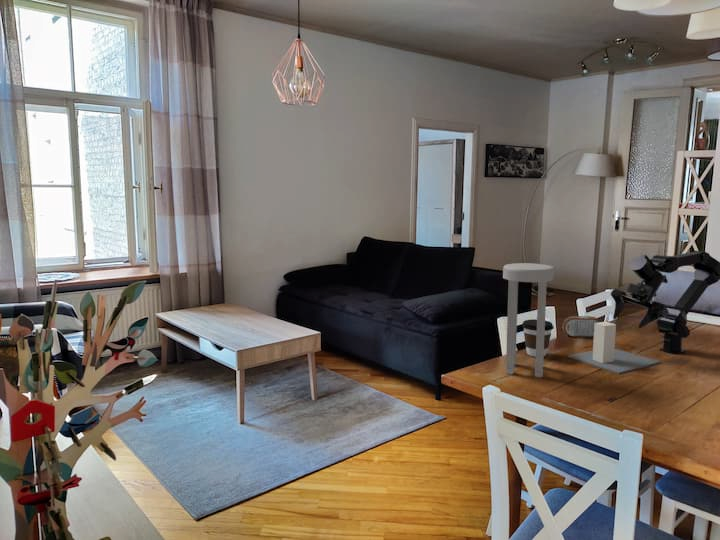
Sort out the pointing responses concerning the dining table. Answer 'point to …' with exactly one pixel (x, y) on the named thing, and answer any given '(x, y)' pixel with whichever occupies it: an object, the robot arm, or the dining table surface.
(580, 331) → the tin
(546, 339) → the coffee cup
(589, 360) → the mat
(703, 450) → the dining table surface
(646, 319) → the robot arm
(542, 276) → the stool
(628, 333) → the dining table surface
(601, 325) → the card box
